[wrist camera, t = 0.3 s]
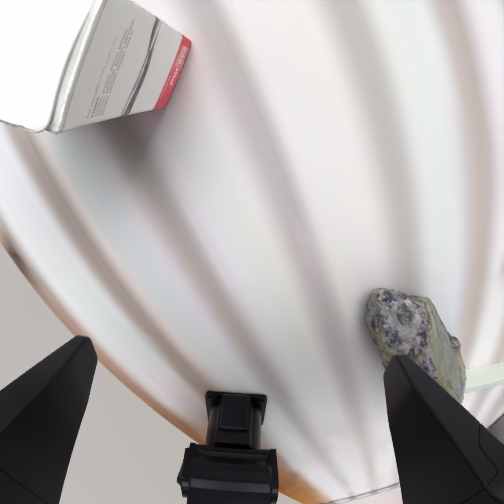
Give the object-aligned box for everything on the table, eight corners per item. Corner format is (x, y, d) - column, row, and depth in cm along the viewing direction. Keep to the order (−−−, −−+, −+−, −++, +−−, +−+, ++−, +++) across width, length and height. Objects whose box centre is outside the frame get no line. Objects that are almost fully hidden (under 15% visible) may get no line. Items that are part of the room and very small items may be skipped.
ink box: (198, 36, 15) (111, -19, 5) (166, 109, 18) (54, 152, 7) (84, 11, 14) (-49, -10, 3) (60, 77, 16) (-78, 105, 6)
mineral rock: (361, 272, 23) (403, 375, 14) (473, 250, 22) (539, 327, 13) (358, 374, 29) (377, 459, 21) (448, 351, 28) (481, 424, 19)
